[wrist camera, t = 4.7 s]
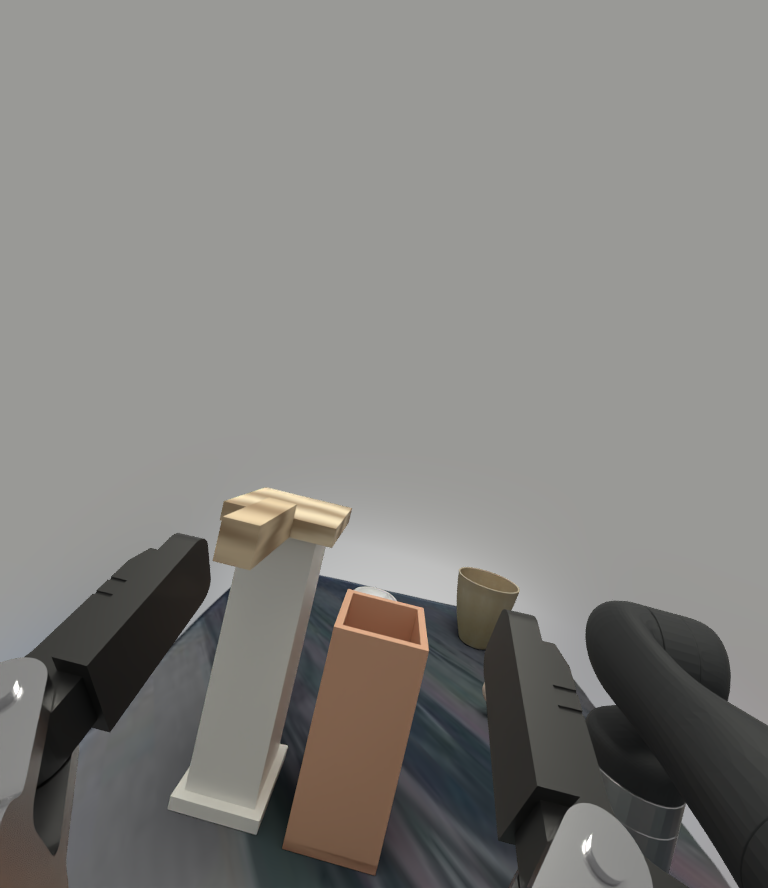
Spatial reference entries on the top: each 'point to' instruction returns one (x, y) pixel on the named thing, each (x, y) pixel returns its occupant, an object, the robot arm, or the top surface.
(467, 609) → the plant pot
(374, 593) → the ramekin
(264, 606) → the pedestal
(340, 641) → the tall open box
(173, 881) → the top surface
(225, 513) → the tan t-shaped block
